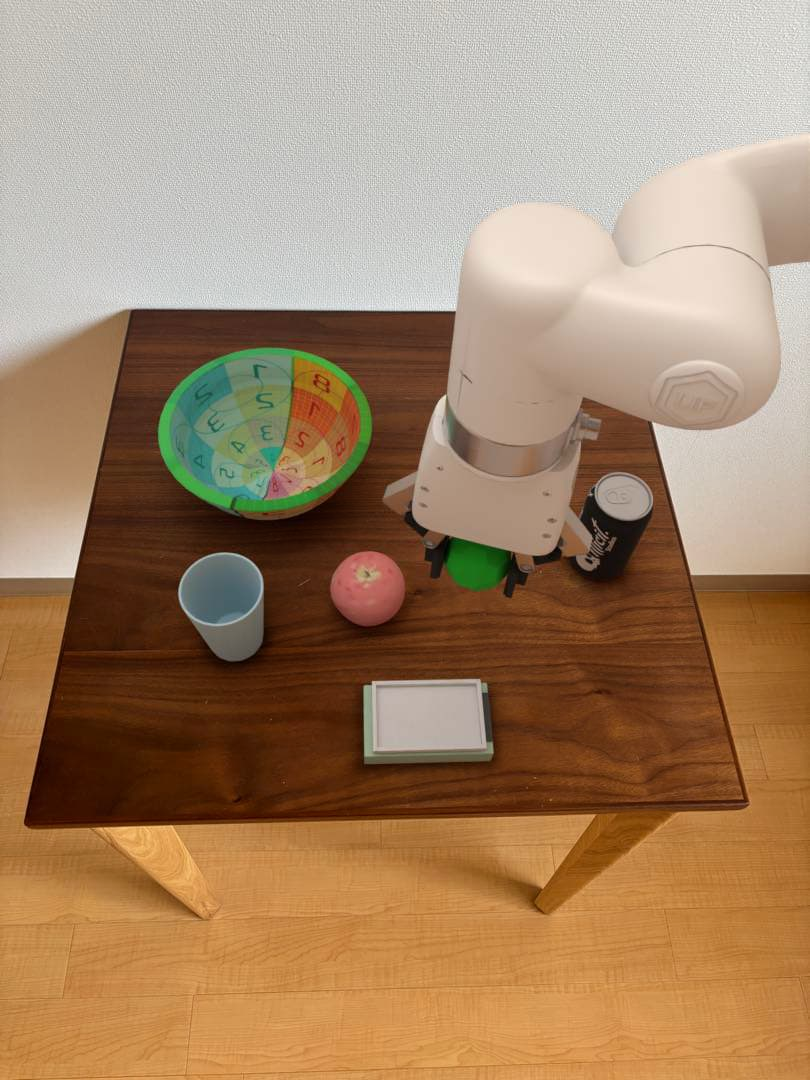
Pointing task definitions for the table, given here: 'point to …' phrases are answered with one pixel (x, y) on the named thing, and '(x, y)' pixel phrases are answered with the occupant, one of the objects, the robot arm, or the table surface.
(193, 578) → the cup
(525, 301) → the robot arm
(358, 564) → the apple
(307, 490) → the bowl
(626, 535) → the beverage can
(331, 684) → the table surface
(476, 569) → the polyhedron
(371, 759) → the scale
